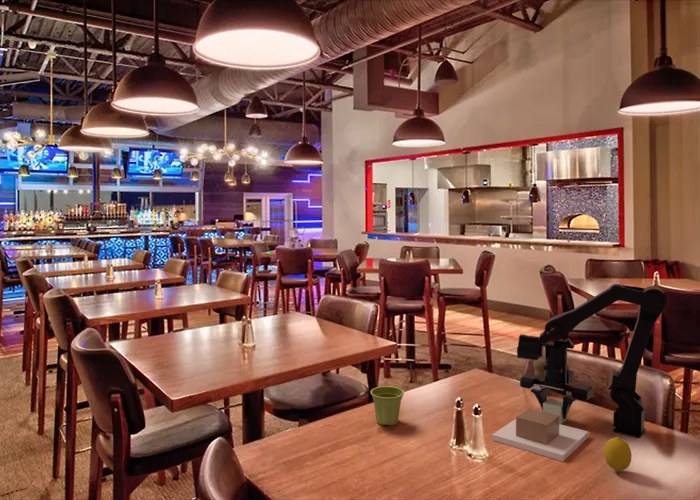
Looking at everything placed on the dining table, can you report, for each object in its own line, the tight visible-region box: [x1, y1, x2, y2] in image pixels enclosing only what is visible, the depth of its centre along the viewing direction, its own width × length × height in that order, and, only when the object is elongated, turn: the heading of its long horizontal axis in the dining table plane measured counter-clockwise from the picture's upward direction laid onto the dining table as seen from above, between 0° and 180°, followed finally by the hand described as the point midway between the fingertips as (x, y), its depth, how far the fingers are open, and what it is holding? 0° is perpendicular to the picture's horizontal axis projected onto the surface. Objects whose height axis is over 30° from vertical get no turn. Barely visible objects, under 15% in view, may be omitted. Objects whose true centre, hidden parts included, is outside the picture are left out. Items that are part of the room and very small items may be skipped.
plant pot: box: [370, 385, 405, 426], centre depth 149 cm, size 9×9×9 cm
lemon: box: [603, 436, 632, 473], centre depth 119 cm, size 6×6×8 cm
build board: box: [491, 408, 590, 462], centre depth 137 cm, size 18×18×6 cm
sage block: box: [542, 398, 568, 425], centre depth 150 cm, size 5×5×5 cm
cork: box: [532, 358, 552, 396], centre depth 172 cm, size 6×6×11 cm
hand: (554, 416), depth 150 cm, fingers closed on sage block, 5 cm apart
